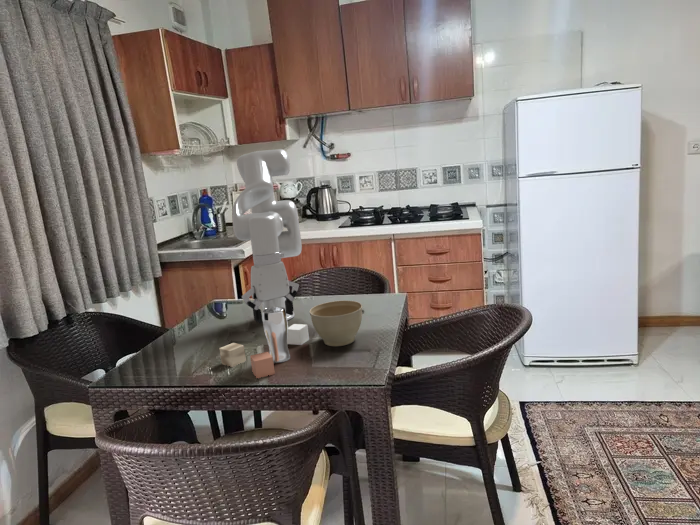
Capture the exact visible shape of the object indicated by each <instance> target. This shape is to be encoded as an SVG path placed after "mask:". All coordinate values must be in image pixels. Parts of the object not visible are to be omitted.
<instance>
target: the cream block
mask: <svg viewBox="0 0 700 525" xmlns="http://www.w3.org/2000/svg"><path fill="white" fill-rule="evenodd" d="M308 326H309V325H308V324H302V323H293V324H292V325H290V326H288V339H287V345H294V346H295V345H298V346H302V345H303V344H305V343H306V342H308V341H309V340H310V336H309V327H308Z"/></svg>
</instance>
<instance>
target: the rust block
mask: <svg viewBox="0 0 700 525" xmlns="http://www.w3.org/2000/svg"><path fill="white" fill-rule="evenodd" d="M250 364H251V371H252V372H253V373H252V372H251V373H252V374H253V375H254V377H255V376H256V377H255V379H257V378H258V379H261V377H262V378H266V377H268V375H269V376H272V375H275V374H276V371H275V365H274V364H275V363H273V357H272V356H271V355H270V351H264V352H260V353H256V354H251V355H250Z"/></svg>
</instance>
